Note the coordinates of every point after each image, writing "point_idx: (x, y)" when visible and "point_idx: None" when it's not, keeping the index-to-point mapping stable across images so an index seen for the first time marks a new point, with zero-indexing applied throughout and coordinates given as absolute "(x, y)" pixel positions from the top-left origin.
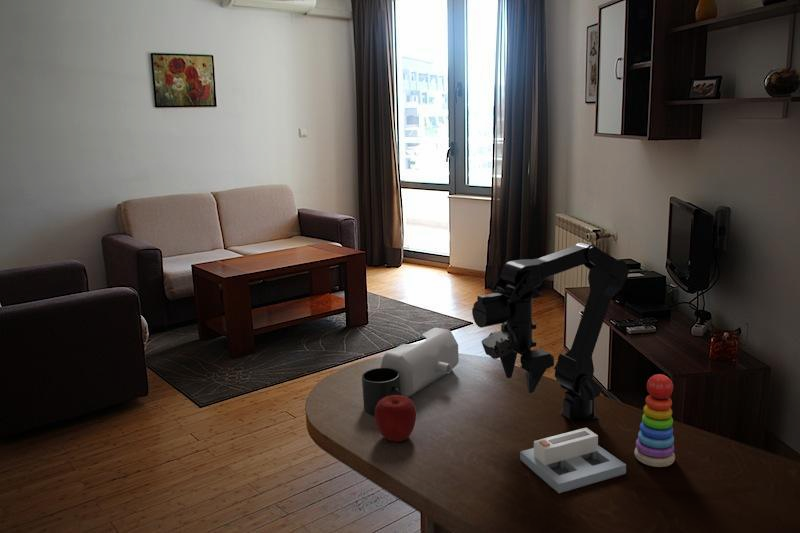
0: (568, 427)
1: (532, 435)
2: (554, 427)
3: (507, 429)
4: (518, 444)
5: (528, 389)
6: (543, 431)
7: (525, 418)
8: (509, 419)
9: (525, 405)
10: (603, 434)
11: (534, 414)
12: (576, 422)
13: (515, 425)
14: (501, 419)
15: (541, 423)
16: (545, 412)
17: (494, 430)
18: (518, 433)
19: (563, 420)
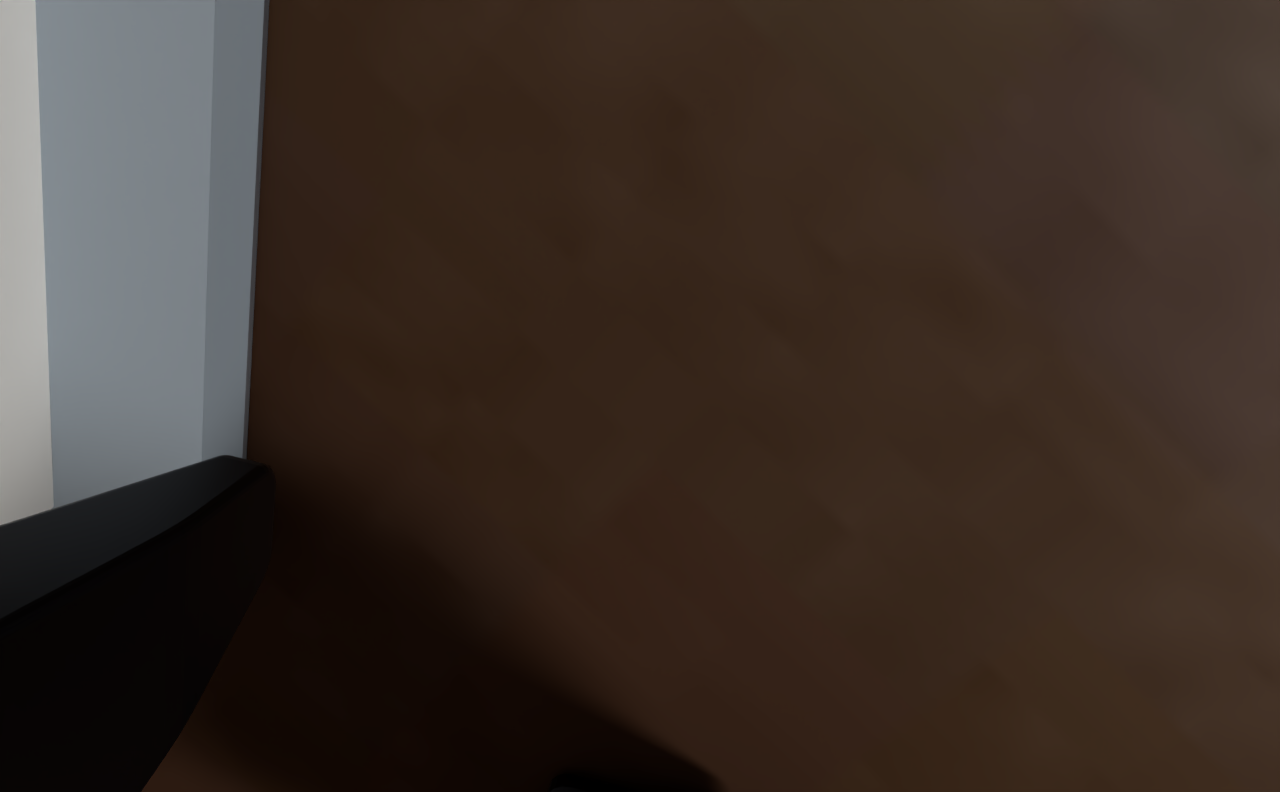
0: (564, 685)
1: (673, 309)
2: (652, 600)
3: (1002, 189)
4: (613, 11)
5: (172, 491)
6: (662, 462)
7: (1030, 544)
8: (1170, 398)
9: (1249, 759)
10: (281, 776)
11: (1017, 672)
12: (554, 785)
13: (999, 340)
14: (1258, 325)
15: (811, 576)
16: (958, 770)
17: (1122, 28)
18: (823, 220)
19: (702, 756)
